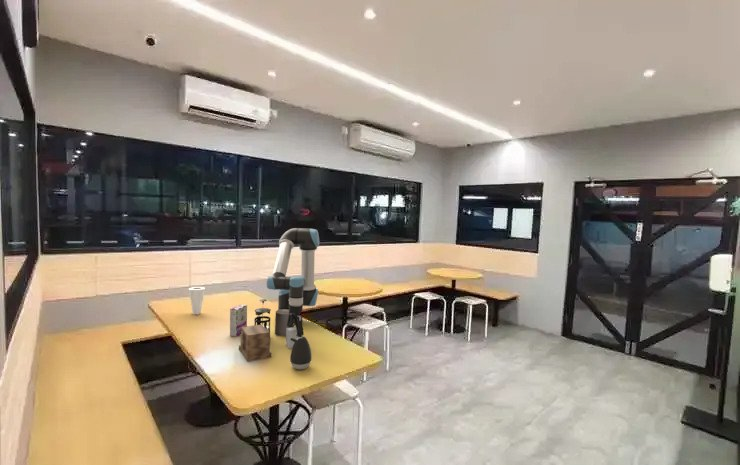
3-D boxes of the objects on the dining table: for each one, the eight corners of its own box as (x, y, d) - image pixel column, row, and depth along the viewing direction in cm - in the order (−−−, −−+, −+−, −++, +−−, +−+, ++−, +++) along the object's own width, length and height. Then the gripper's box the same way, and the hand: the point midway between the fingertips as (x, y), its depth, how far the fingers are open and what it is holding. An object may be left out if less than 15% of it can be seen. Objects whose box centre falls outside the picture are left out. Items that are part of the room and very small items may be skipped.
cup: (208, 313, 251) (208, 288, 250) (193, 316, 242) (194, 290, 241) (199, 310, 257) (199, 286, 256) (185, 313, 248) (185, 288, 247)
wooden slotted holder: (263, 345, 197) (263, 323, 196) (273, 356, 182) (274, 332, 181) (238, 349, 189) (239, 326, 189) (247, 361, 174) (248, 336, 174)
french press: (273, 339, 206) (274, 300, 204) (257, 342, 200) (258, 302, 198) (265, 333, 215) (266, 296, 213) (249, 336, 209) (251, 298, 207)
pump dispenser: (290, 362, 175) (291, 332, 175) (312, 363, 176) (313, 333, 175) (287, 372, 165) (289, 340, 164) (310, 372, 166) (311, 340, 165)
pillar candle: (271, 332, 217) (272, 308, 216) (285, 329, 224) (286, 306, 223) (280, 337, 211) (281, 312, 210) (294, 333, 218) (295, 309, 217)
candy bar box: (239, 330, 219) (240, 304, 218) (247, 331, 218) (247, 304, 217) (229, 336, 208) (229, 308, 207) (236, 337, 207) (237, 309, 206)
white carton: (299, 343, 202) (299, 326, 201) (302, 346, 197) (303, 328, 197) (285, 345, 197) (286, 328, 197) (289, 348, 193) (289, 330, 192)
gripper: (282, 300, 204) (280, 337, 205) (297, 310, 184) (296, 351, 185) (294, 299, 208) (293, 335, 209) (310, 309, 188) (309, 349, 189)
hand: (294, 343), depth 197 cm, fingers open, 11 cm apart
